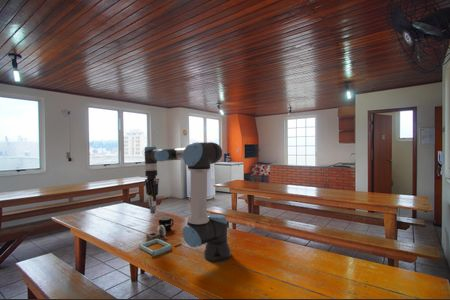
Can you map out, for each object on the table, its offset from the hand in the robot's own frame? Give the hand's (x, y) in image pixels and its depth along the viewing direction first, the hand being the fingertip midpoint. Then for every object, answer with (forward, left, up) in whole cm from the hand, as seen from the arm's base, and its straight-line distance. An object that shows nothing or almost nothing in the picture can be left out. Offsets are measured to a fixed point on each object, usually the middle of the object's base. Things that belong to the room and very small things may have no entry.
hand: (152, 205), depth 165 cm
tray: (-12, +6, -24) cm, 28 cm away
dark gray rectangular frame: (-12, -6, -24) cm, 27 cm away
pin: (0, 0, -5) cm, 5 cm away
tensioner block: (+1, -3, -24) cm, 24 cm away
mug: (+10, -18, -24) cm, 32 cm away
